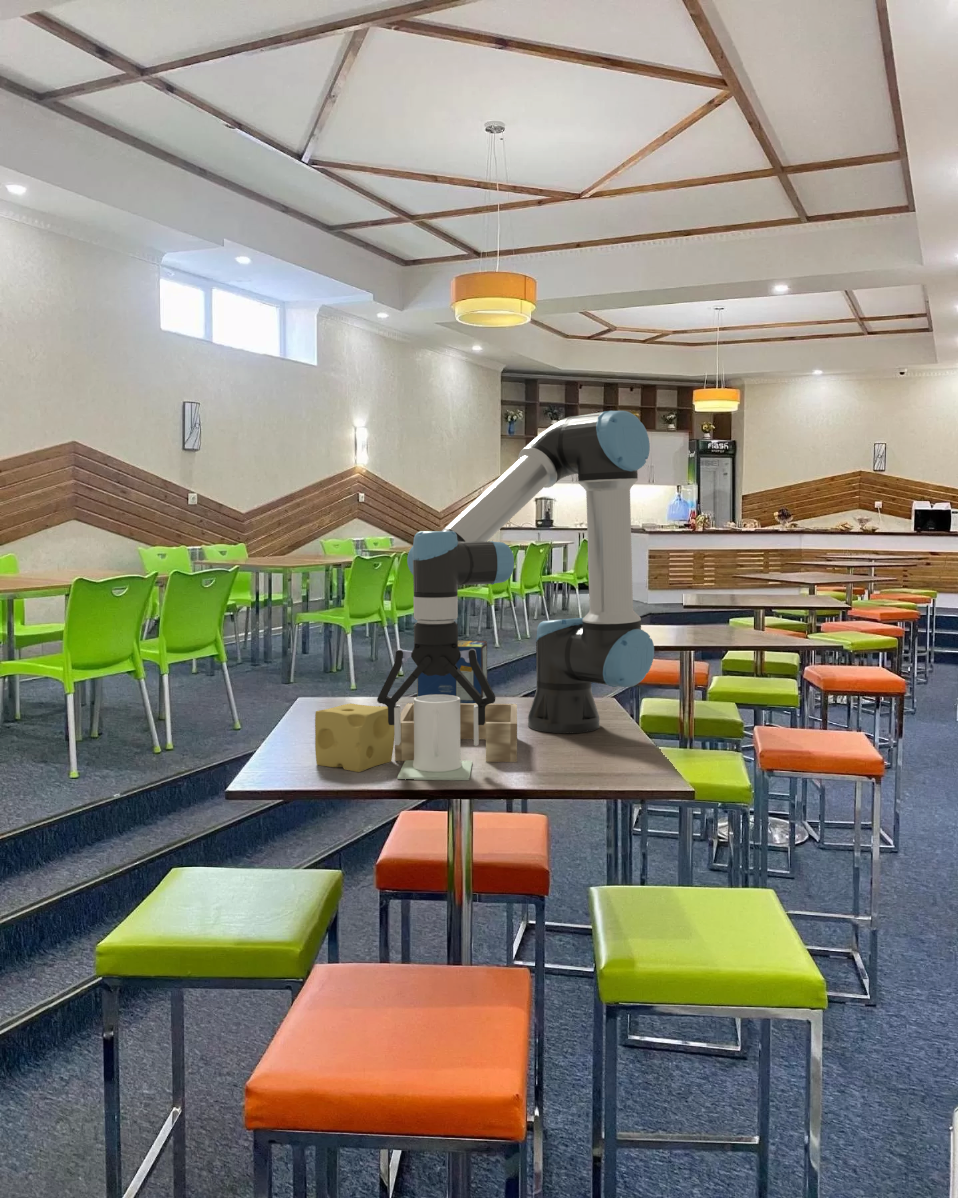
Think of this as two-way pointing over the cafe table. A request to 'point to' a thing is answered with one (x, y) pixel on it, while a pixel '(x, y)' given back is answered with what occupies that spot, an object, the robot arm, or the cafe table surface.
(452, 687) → the protein box
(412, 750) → the frame
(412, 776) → the mat
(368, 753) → the cheese
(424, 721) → the mug
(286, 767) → the cafe table surface
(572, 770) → the cafe table surface
